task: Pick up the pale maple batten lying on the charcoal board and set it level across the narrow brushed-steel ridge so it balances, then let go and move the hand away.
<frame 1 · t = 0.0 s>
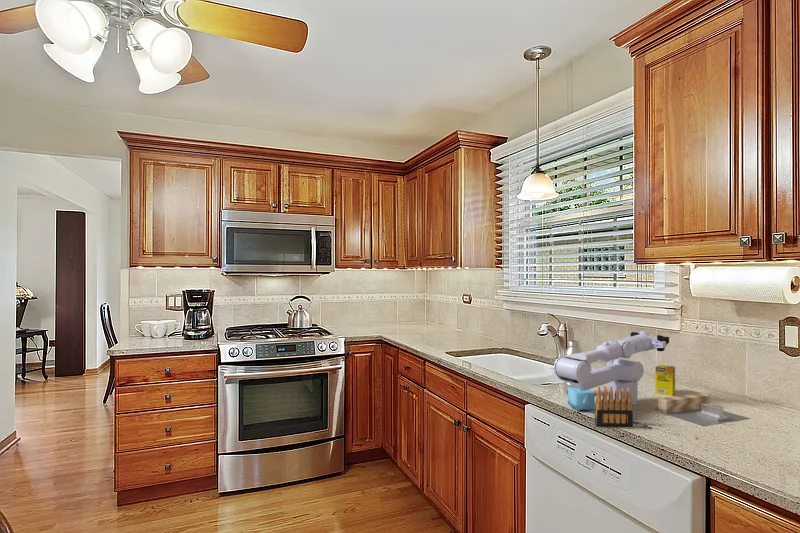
hand: (657, 338, 178), 22 cm above the worktop, tool horizontal, fingers open, 7 cm apart
charcoal board: (698, 416, 155), on the worktop
supplement box: (665, 396, 181), on the worktop
steel ridge: (712, 417, 151), resting on charcoal board
maple batten: (684, 409, 160), point 1 cm above the worktop, touching charcoal board
ammunition clip: (613, 426, 145), on the worktop
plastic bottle: (573, 394, 182), on the worktop
teapot: (582, 410, 162), on the worktop
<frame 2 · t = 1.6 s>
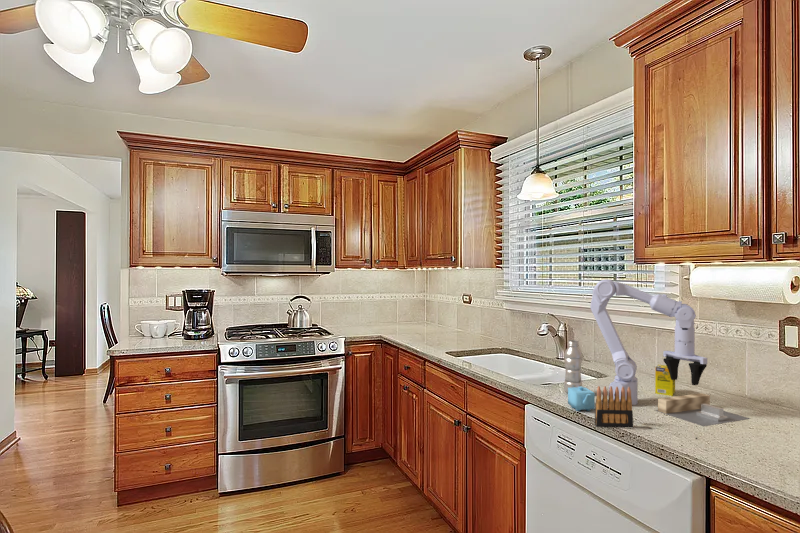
hand: (684, 382, 160), 10 cm above the worktop, tool pointing down, fingers open, 7 cm apart
nothing on the worktop moved.
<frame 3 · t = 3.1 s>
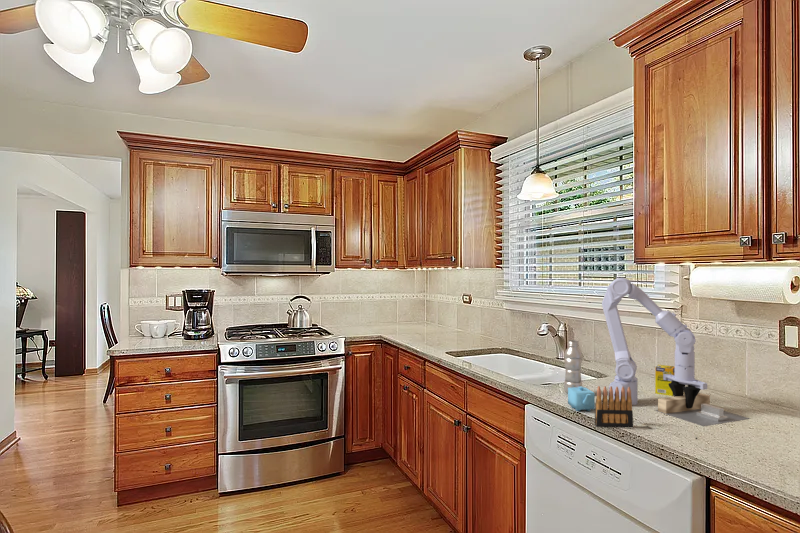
hand: (684, 406, 160), 2 cm above the worktop, tool pointing down, fingers closed on maple batten, 3 cm apart
maple batten: (684, 409, 160), point 1 cm above the worktop, touching charcoal board, gripper
everything else where it was.
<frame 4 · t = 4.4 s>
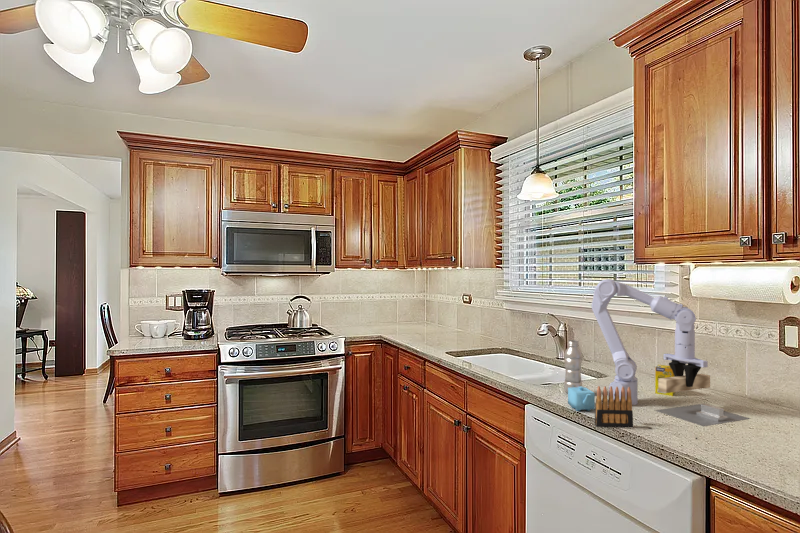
hand: (684, 385, 160), 9 cm above the worktop, tool pointing down, fingers closed on maple batten, 3 cm apart
maple batten: (684, 389, 160), point 8 cm above the worktop, touching gripper
everything else where it was.
when the fingers open (6 cm above the worktop, at t = 5.9 s): maple batten stays where it is, resting on steel ridge.
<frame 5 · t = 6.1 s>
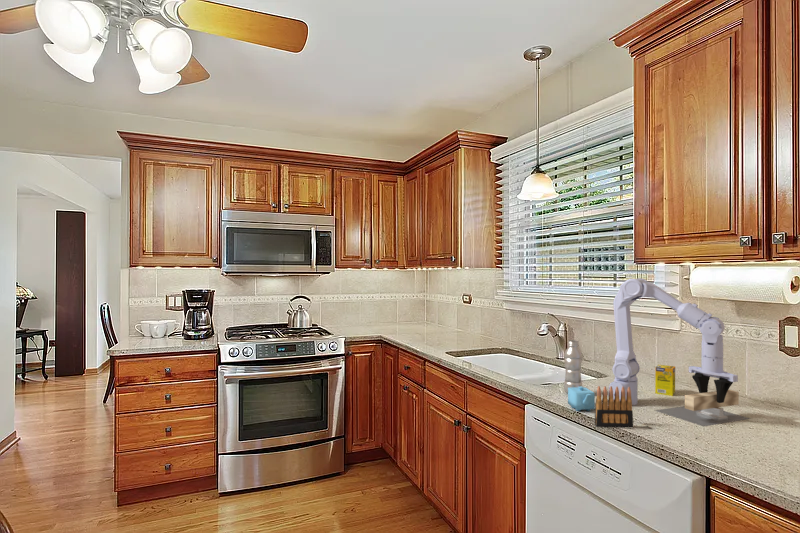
hand: (712, 400, 151), 6 cm above the worktop, tool pointing down, fingers open, 5 cm apart
maple batten: (712, 406, 151), point 4 cm above the worktop, touching steel ridge
everything else where it was.
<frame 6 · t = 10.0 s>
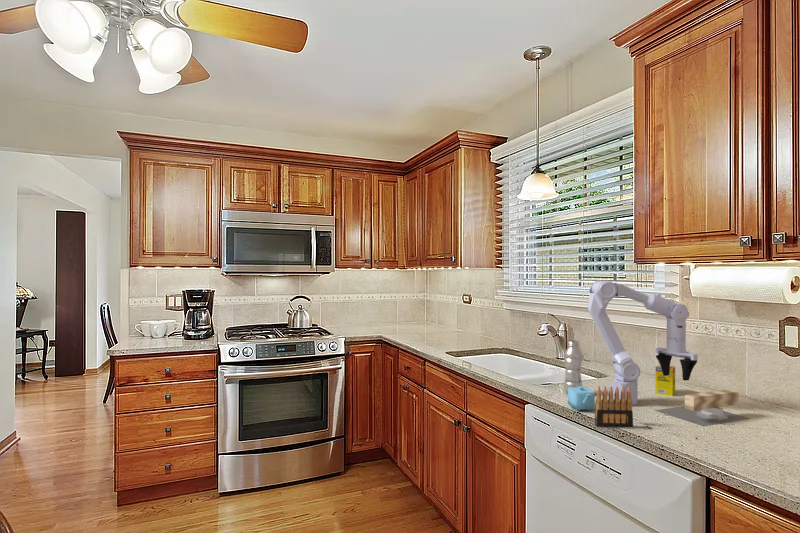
hand: (675, 377, 166), 10 cm above the worktop, tool pointing down, fingers open, 7 cm apart
nothing on the worktop moved.
at the end: maple batten 0.0 cm off-centre on the steel ridge, point 3.5 cm above the steel ridge's base; maple batten tilted 0°; maple batten touching steel ridge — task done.
